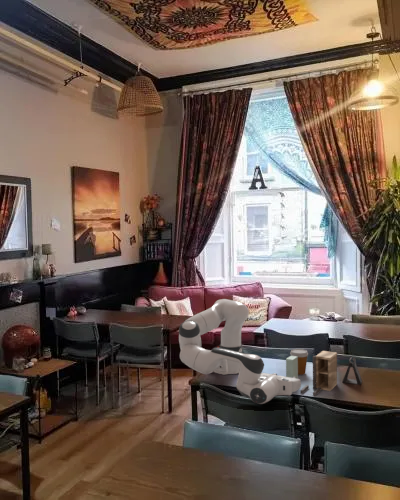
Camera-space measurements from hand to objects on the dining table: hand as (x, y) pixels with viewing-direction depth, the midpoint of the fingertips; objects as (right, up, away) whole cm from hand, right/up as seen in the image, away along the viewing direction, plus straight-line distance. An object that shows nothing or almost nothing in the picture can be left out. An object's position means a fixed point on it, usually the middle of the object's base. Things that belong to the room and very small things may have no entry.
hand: (284, 376), depth 217 cm
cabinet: (+17, -7, +3) cm, 19 cm away
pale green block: (+5, -7, +8) cm, 12 cm away
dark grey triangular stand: (+36, -6, +12) cm, 39 cm away
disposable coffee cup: (+13, -6, +27) cm, 31 cm away
